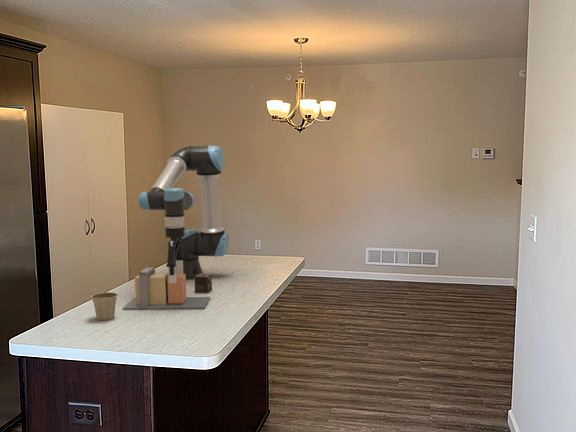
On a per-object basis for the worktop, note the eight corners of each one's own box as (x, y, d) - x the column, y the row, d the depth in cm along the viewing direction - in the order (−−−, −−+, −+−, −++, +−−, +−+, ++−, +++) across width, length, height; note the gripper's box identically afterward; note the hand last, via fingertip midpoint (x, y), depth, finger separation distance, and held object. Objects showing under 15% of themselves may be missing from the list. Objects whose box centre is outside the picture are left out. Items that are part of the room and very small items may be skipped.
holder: (134, 299, 232) (132, 265, 231) (210, 298, 232) (209, 265, 231) (122, 309, 216) (121, 274, 215) (204, 309, 216) (203, 273, 215)
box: (207, 293, 241) (207, 277, 241) (194, 293, 243) (194, 276, 242) (212, 290, 247) (211, 274, 247) (199, 289, 249) (199, 273, 248)
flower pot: (103, 323, 199) (102, 299, 198) (86, 319, 204) (85, 296, 203) (124, 316, 207) (123, 294, 206) (107, 313, 212) (106, 291, 211)
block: (171, 299, 228) (170, 273, 226) (186, 298, 228) (185, 273, 226) (168, 303, 221) (167, 277, 220) (183, 303, 221) (182, 277, 219)
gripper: (172, 223, 233) (173, 273, 235) (157, 230, 208) (159, 286, 210) (190, 223, 233) (191, 273, 235) (177, 230, 208) (179, 286, 210)
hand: (176, 279), depth 223 cm, fingers open, 13 cm apart
